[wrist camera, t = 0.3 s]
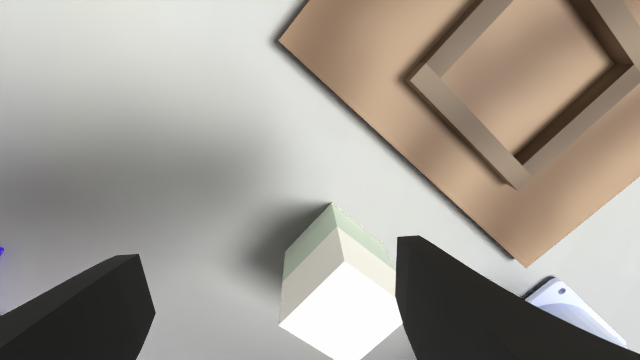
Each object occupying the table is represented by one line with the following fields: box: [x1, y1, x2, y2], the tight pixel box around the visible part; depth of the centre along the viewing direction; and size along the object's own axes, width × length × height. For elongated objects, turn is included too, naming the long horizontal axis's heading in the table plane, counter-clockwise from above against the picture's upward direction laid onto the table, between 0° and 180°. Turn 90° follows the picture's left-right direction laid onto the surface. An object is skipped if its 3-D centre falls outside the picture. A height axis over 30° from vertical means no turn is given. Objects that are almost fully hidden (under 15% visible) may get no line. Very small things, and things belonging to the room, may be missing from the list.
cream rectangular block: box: [279, 202, 403, 360], centre depth 17 cm, size 4×4×6 cm
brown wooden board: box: [279, 0, 640, 268], centre depth 16 cm, size 20×14×2 cm
